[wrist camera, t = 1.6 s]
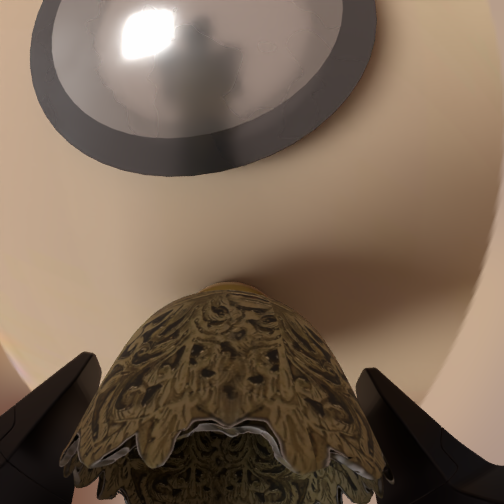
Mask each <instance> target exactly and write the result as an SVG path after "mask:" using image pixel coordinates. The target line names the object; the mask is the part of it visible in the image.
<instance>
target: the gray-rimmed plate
mask: <svg viewBox="0 0 504 504" xmlns="http://www.w3.org/2000/svg"><path fill="white" fill-rule="evenodd" d="M376 23H377V18H376V6H375V0H43V3H42V5H41V7H40V10H39V12H38V15H37V18H36V21H35V25H34V29H33V33H32V40H31V47H30V69H31V75H32V82H33V86H34V89H35V92H36V95H37V99H38V101H39V103H40V105H41V107H42V109H43V111H44V113H45V115H46V117H47V118H48V119H49V121H50V122H51V124H52V125H53V126H54V128H55V129H56V130H57V131H58V132H59V133H60V134H61V135H62V136H63V137H64V138H65V139H66V140H67V141H68V142H69V143H70V144H71V145H73V146H74V147H75V148H77V149H78V150H80V151H81V152H82V153H84V154H85V155H87V156H89V157H91V158H93V159H95V160H97V161H99V162H101V163H103V164H106V165H109V166H112V167H115V168H118V169H120V170H124V171H129V172H133V173H138V174H143V175H154V176H166V177H174V176H195V175H202V174H208V173H215V172H221V171H225V170H228V169H232V168H236V167H240V166H244V165H247V164H249V163H252V162H254V161H257V160H260V159H262V158H265V157H268V156H270V155H272V154H274V153H276V152H278V151H280V150H282V149H284V148H286V147H288V146H290V145H292V144H294V143H295V142H296V141H298V140H299V139H301V138H302V137H304V136H305V135H307V134H308V133H310V132H312V131H313V130H315V129H316V128H317V127H318V126H319V125H320V124H321V123H323V122H324V121H325V120H326V119H327V118H328V117H330V116H331V115H332V114H333V113H334V112H335V111H336V110H337V109H338V108H339V106H340V105H341V104H342V103H343V102H344V101H345V100H346V99H347V98H348V96H349V95H350V93H351V92H352V90H353V89H354V87H355V86H356V84H357V83H358V81H359V80H360V78H361V77H362V74H363V72H364V70H365V68H366V66H367V64H368V61H369V59H370V56H371V52H372V49H373V45H374V41H375V34H376Z"/></svg>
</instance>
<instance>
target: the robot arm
mask: <svg viewBox="0 0 504 504" xmlns="http://www.w3.org/2000/svg"><path fill="white" fill-rule="evenodd" d="M101 374H102V371H101V367H100V365H99V362H98V360H97V357H96V355H95V354H94V353H90V352H82V353H81V354H80V355H78V356H77V357H76V358H74V359H73V360H72V361H70V362H69V363H68V364H66V365H65V366H64V367H63V368H61V369H60V370H59V371H57V372H56V373H55V374H53V375H52V376H51V377H50V378H48V379H47V380H46V381H44V382H43V383H42V384H41V385H39V386H38V387H37V388H35V389H34V390H33V391H32V392H30V393H29V394H28V395H27V396H25V397H24V398H23V399H22V400H20V401H19V402H18V403H16V405H14V406H13V407H11V408H10V409H9V410H8V411H6V412H5V413H4V414H2V415H1V416H0V504H71V503H72V498H73V493H74V488H75V485H74V476H73V471H72V473H71V474H70V475H69V476H68V477H67V478H65V477H64V466H63V467H60V466H59V461H60V457H61V455H62V452H63V450H64V449H65V448H66V446H67V445H68V444H69V442H70V440H71V438H72V436H73V434H74V433H75V431H76V429H77V427H78V425H79V423H80V421H81V419H82V417H83V416H84V414H85V412H86V410H87V408H88V406H89V405H90V403H91V401H92V399H93V397H94V396H95V394H96V392H97V390H98V389H99V384H100V379H101ZM356 394H357V400H358V402H359V404H360V406H361V408H362V410H363V412H364V415H365V417H366V419H367V421H368V423H369V425H370V427H371V429H372V432H373V434H374V436H375V438H376V440H377V442H378V444H379V447H380V449H381V451H382V453H383V455H384V457H385V459H386V460H387V463H388V464H389V467H390V469H391V471H392V474H393V477H394V484H391V483H389V481H388V480H387V479H386V477H385V476H384V474H383V475H382V479H383V498H379V497H378V496H377V495H376V500H377V504H504V466H499V465H495V464H492V463H489V462H488V461H486V460H484V459H483V458H482V457H480V456H479V455H477V454H476V453H474V452H473V451H471V450H470V449H469V448H467V447H466V446H465V445H463V444H462V443H461V442H459V441H458V440H457V439H455V438H454V437H453V436H452V435H451V434H449V433H448V432H447V431H446V430H445V429H444V428H442V427H441V426H440V425H439V424H438V423H437V422H436V421H435V420H433V418H431V417H430V416H429V415H428V414H427V413H426V412H425V411H424V410H422V409H421V408H420V407H419V406H418V405H417V404H416V403H415V402H414V401H412V400H411V399H410V398H409V397H408V396H407V395H406V394H405V393H404V392H402V391H401V390H400V389H399V388H398V387H397V386H396V385H395V384H393V383H392V382H391V381H390V380H389V379H388V378H387V377H386V376H385V375H383V374H382V373H381V372H380V371H379V370H378V369H377V368H374V367H373V368H365V369H364V370H363V371H362V373H361V375H360V377H359V379H358V381H357V383H356ZM71 442H72V441H71ZM70 444H71V443H70ZM69 446H70V445H69ZM69 446H68V448H69ZM68 448H67V449H66V451H65V452H64V453H66V452H67V450H68ZM383 470H384V471H386V470H388V468H387V467H386V466H385V467H384V469H383ZM375 494H376V493H375Z"/></svg>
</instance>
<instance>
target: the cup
mask: <svg viewBox="0 0 504 504" xmlns="http://www.w3.org/2000/svg"><path fill="white" fill-rule="evenodd" d="M71 441H72V442H71ZM70 443H71V444H70ZM69 445H70V446H69ZM68 446H69V448H68ZM67 448H68V450H67V452H66V453H64V452H65V451H66V449H67ZM59 466H60V467H63V466H64V477H65V478H67V477H68V476H69V475H70V474H71V473H72V471H73V476H74V485H75V487H76V488H82V487H86V486H88V485H90V484H91V483H92V482H93V481H95V480H96V479H97V477H99V483H98V489H97V499H99V500H103V499H113V498H114V497H116V495H117V492H118V493H120V494H122V495H123V496H124V500H125V503H126V504H343V501H342V493H344V494H345V495H346V496H347V498H349V499H350V500H351V502H353V503H357V504H367V503H369V502H370V499H371V497H372V496H373V494H374V492H375V493H376V495H377V496H378V497H379V498H383V479H382V475H383V474H384V476H385V477H386V479H387V480H388V481H389V483H391V484H394V477H393V474H392V471H391V469H390V467H389V464H388V463H387V460H386V459H385V457H384V455H383V453H382V451H381V449H380V447H379V444H378V442H377V440H376V438H375V436H374V434H373V432H372V429H371V427H370V425H369V423H368V421H367V419H366V417H365V415H364V412H363V410H362V408H361V406H360V404H359V402H358V400H357V398H356V396H355V394H354V392H353V390H352V388H351V386H350V384H349V382H348V380H347V378H346V376H345V374H344V372H343V371H342V369H341V367H340V365H339V363H338V362H337V360H336V358H335V356H334V355H333V353H332V352H331V350H330V349H329V347H328V346H327V344H326V343H325V341H324V340H323V338H322V337H321V336H320V335H319V333H318V332H317V331H316V330H315V328H314V327H313V326H312V325H311V324H310V323H309V322H308V321H307V320H305V319H304V318H303V317H302V316H300V315H299V314H298V313H297V312H295V311H294V310H293V309H291V308H289V307H288V306H286V305H284V304H282V303H280V302H278V301H276V300H273V299H271V298H268V297H267V296H266V295H265V294H264V293H262V292H261V291H260V290H258V289H257V288H255V287H253V286H251V285H248V284H245V283H240V282H232V281H231V282H220V283H216V284H212V285H210V286H208V287H206V288H204V289H202V290H201V291H200V292H198V293H196V294H192V295H189V296H186V297H183V298H180V299H178V300H176V301H173V302H172V303H170V304H168V305H167V306H165V307H163V308H162V309H160V310H159V311H157V312H156V313H155V314H153V315H152V316H151V317H150V318H149V319H148V320H147V321H146V322H145V323H144V324H143V325H142V326H141V327H140V328H139V329H138V330H137V331H136V332H135V333H134V335H133V336H132V337H131V339H130V340H129V341H128V342H127V344H126V345H125V347H124V348H123V350H122V351H121V353H120V354H119V356H118V357H117V359H116V360H115V362H114V364H113V365H112V367H111V368H110V370H109V372H108V373H107V375H106V377H105V378H104V380H103V382H102V384H101V385H100V387H99V389H98V390H97V392H96V394H95V396H94V397H93V399H92V401H91V403H90V405H89V406H88V408H87V410H86V412H85V414H84V416H83V417H82V419H81V421H80V423H79V425H78V427H77V429H76V431H75V433H74V434H73V436H72V438H71V440H70V442H69V444H68V445H67V446H66V448H65V449H64V450H63V452H62V455H61V457H60V461H59ZM385 466H386V467H387V468H388V470H386V471H384V470H383V469H384V467H385ZM118 490H120V491H121V492H120V491H118ZM373 491H374V492H373Z"/></svg>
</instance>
